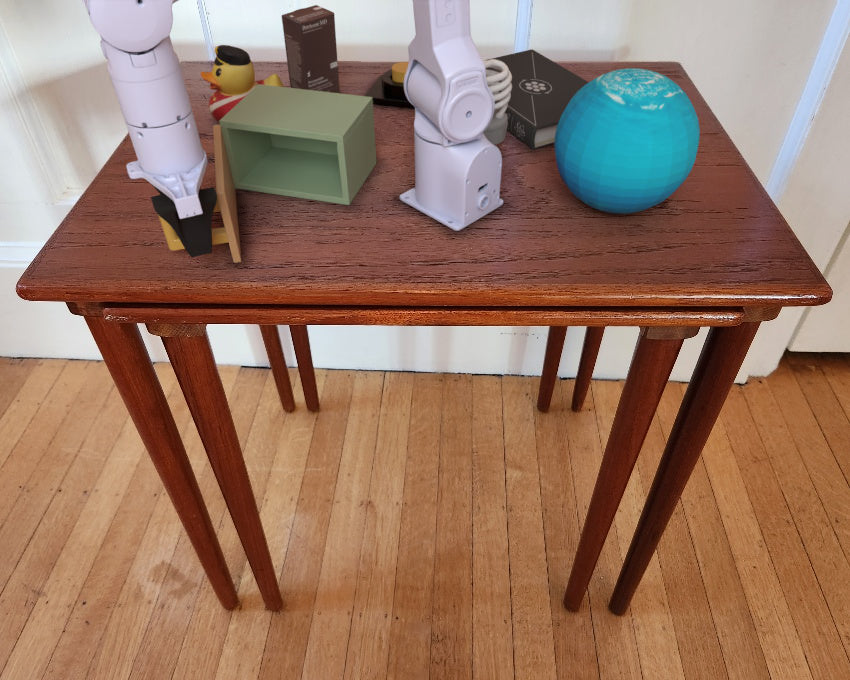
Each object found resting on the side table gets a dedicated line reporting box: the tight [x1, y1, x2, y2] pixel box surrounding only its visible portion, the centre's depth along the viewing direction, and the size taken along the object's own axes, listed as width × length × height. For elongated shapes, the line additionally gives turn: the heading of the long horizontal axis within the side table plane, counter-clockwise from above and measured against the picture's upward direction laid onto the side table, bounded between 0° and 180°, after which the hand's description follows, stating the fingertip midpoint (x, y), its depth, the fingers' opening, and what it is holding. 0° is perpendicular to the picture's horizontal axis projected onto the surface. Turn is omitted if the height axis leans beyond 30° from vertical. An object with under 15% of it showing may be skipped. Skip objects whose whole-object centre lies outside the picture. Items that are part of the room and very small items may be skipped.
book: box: [486, 49, 590, 150], centre depth 96 cm, size 22×15×3 cm
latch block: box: [364, 68, 415, 110], centre depth 99 cm, size 10×8×3 cm
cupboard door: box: [157, 124, 242, 264], centre depth 72 cm, size 7×15×8 cm, turn 14°
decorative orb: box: [553, 67, 701, 215], centre depth 73 cm, size 15×15×15 cm
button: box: [391, 61, 409, 83], centre depth 97 cm, size 4×4×2 cm
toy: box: [200, 44, 285, 124], centre depth 91 cm, size 9×11×10 cm
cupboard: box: [218, 84, 378, 206], centre depth 80 cm, size 10×15×9 cm
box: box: [281, 4, 341, 94], centre depth 95 cm, size 6×4×12 cm
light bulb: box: [482, 58, 512, 146], centre depth 83 cm, size 6×6×12 cm
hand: (196, 241), depth 69 cm, fingers open, 4 cm apart
